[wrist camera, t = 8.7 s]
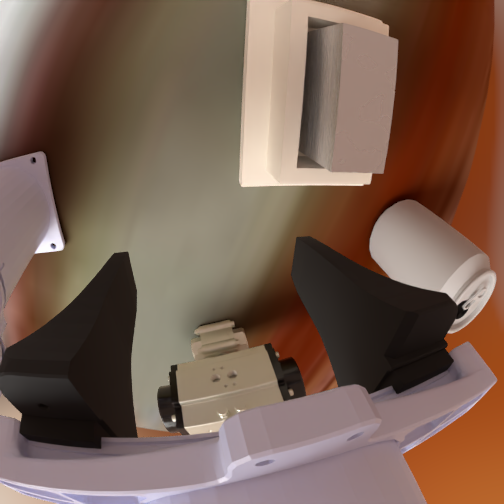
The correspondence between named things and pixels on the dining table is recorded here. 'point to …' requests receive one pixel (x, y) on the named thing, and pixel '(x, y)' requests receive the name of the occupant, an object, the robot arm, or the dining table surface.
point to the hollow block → (284, 91)
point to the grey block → (348, 98)
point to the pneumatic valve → (224, 380)
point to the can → (432, 258)
